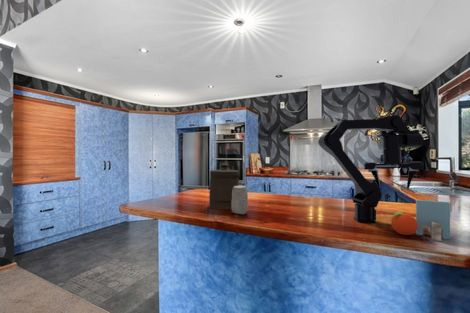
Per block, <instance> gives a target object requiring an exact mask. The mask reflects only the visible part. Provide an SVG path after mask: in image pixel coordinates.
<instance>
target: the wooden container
mask: <svg viewBox="0 0 470 313" xmlns="http://www.w3.org/2000/svg"><path fill="white" fill-rule="evenodd" d="M220 166H221V167H220V168H219V169H211V170H210V172H209V190H208V191H209V194H208V195H209V196H208V197H209V202H208V203H209V205H208V206H209V207H210V208H211V209H214V210H232V208H231V201H232V189H233V187H234V186H240V185H239V184H240V182H239V181H240V180H239V179H240V178H239V177H240V170H239V169H238V170H236V169H230V168H229V167H228V166H229V164H228V163H227V162H222V163H221V165H220Z"/></svg>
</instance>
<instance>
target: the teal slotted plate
mask: <svg viewBox="0 0 470 313" xmlns="http://www.w3.org/2000/svg"><path fill="white" fill-rule="evenodd" d="M415 219H416V221H417V224H418V228H417V230H416V232H415V234H416V235H418V236H424V228H428V227H430V228H431V221H432V222H440V223H441V239H443V240H444V239H445V240H451V203H450V202H449V201H441V200H440V201H439V200H428V199H427V200H426V199H417V198H416V199H415Z"/></svg>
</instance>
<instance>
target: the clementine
mask: <svg viewBox="0 0 470 313" xmlns="http://www.w3.org/2000/svg"><path fill="white" fill-rule="evenodd" d="M390 221H391V222H390V224H391V227H392V229H393V230H394V231H395V232H396V233H398V234H400V235H403V236H410V235H411V236H412V235H413V234H416V230H417V228H418V224H417V221H416V217H414V216H412V215H411V214H409V213H406V212H398V213H397V212H396V213H395V214H393V215H392V216H391V217H390Z"/></svg>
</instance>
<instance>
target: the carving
mask: <svg viewBox="0 0 470 313" xmlns="http://www.w3.org/2000/svg"><path fill="white" fill-rule="evenodd" d="M248 205H249V197H248V187H247V186H245V185H239V186H234V187H233V189H232V201H231V208H232V209H231V212H232V213H234V214H237V215H245V214H247V211H248Z"/></svg>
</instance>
